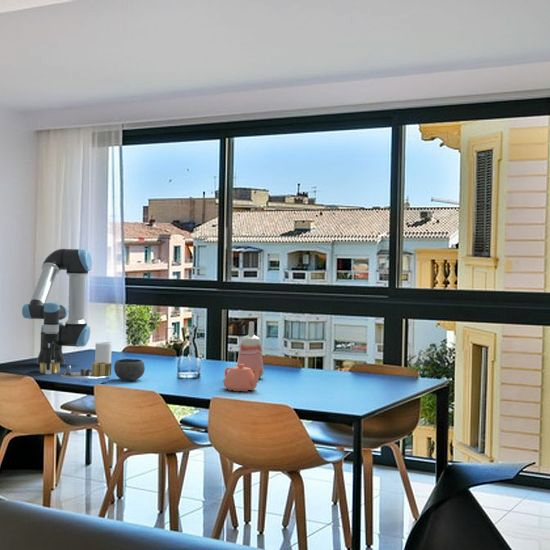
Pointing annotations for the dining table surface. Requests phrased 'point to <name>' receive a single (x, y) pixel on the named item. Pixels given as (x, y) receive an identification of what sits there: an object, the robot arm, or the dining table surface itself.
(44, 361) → the robot arm
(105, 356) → the cup
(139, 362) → the bowl
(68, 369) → the pin
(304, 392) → the dining table surface
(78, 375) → the carrier
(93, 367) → the seated gear
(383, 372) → the dining table surface
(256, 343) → the pink squeeze bottle
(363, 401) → the dining table surface
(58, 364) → the gear
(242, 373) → the teapot
